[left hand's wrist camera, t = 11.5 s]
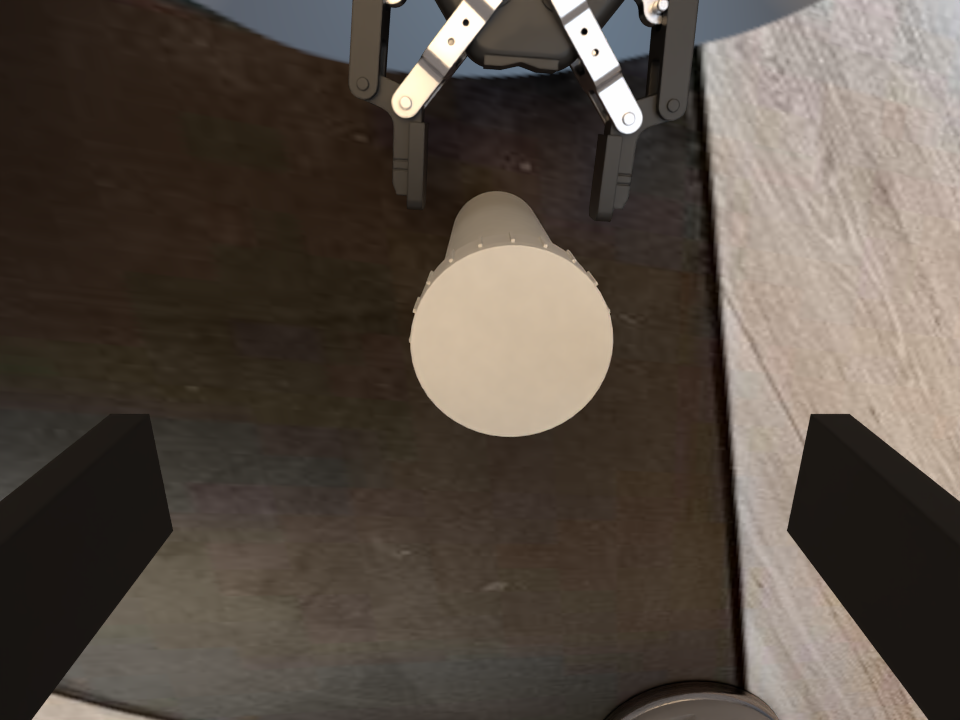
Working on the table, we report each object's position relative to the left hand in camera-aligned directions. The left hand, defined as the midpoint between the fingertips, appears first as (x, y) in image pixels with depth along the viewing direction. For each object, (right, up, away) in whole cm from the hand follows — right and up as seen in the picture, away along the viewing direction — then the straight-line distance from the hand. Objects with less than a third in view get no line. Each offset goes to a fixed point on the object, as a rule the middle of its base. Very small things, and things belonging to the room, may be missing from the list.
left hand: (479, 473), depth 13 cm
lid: (+1, +3, +5) cm, 6 cm away
